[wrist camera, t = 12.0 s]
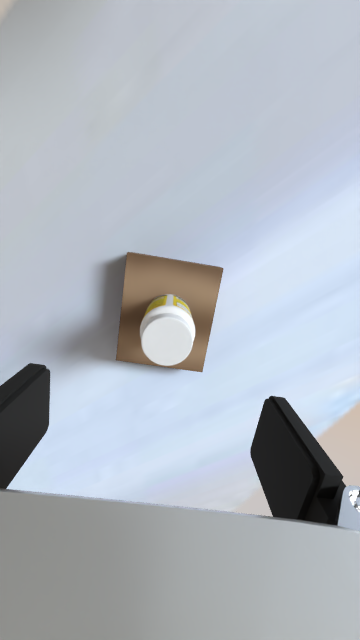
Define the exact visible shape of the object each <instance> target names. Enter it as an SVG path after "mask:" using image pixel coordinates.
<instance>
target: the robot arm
mask: <svg viewBox="0 0 360 640" xmlns="http://www.w3.org/2000/svg"><path fill="white" fill-rule="evenodd" d="M49 400H50V370H49V369H46V366H45V365H39V364H32V363H30V364H28V365H27V366H26V367H24V368H23V369H22V370H20V371H19V372H18V373H17V374H15V375H14V376H13V377H11V378H10V379H9V380H7V381H6V382H5V383H4V384H2V385H1V386H0V640H360V487H359V486H351V485H350V486H347V487H346V485H345V484H344V483H343V481H342V479H343V476H342V474H341V473H340V471H339V470H338V469H337V467H336V466H335V465H334V464H333V462H332V461H331V460H330V458H329V457H328V456H327V454H326V453H325V451H324V450H323V449H322V447H321V446H320V445H319V443H318V442H317V441H316V439H315V438H314V437H313V435H312V434H311V433H310V431H309V430H308V429H307V427H306V426H305V424H304V423H303V422H302V420H301V419H300V418H299V416H298V415H297V414H296V412H295V411H294V410H293V408H292V407H291V406H290V404H289V403H288V402H287V400H286V399H285V398H282V397H275V396H270V397H269V399H266V400H265V401H264V405H263V408H262V411H261V415H260V418H259V422H258V425H257V429H256V432H255V436H254V439H253V442H252V446H251V458H252V461H253V463H254V466H255V469H256V472H257V474H258V477H259V480H260V482H261V485H262V488H263V491H264V493H265V496H266V499H267V501H268V504H269V507H270V510H271V512H272V515H273V517H270V516H261V515H252V514H243V513H235V512H226V511H217V510H208V509H199V508H189V507H180V506H171V505H161V504H152V503H142V502H132V501H123V500H113V499H103V498H93V497H83V496H73V495H62V494H52V493H42V492H32V491H21V490H10V489H6V488H7V487H8V485H9V484H10V482H11V481H12V480H13V478H14V477H15V475H16V474H17V473H18V471H19V470H20V468H21V467H22V465H23V464H24V463H25V461H26V460H27V458H28V457H29V456H30V454H31V453H32V451H33V450H34V449H35V447H36V446H37V444H38V443H39V442H40V440H41V439H42V437H43V436H44V435H45V433H46V431H47V429H48V426H49Z"/></svg>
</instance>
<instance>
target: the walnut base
mask: <svg viewBox="0 0 360 640" xmlns="http://www.w3.org/2000/svg"><path fill="white" fill-rule="evenodd" d="M222 273H223V268H221V267H217V266H211V265H205V264H199V263H193V262H187V261H181V260H175V259H169V258H163V257H157V256H151V255H145V254H139V253H133V252H127V259H126V268H125V278H124V288H123V297H122V307H121V317H120V326H119V336H118V346H117V355H116V360H118V361H126V362H133V363H140V364H147V365H154V366H161V367H169V368H176V369H183V370H190V371H197V372H202V371H203V366H204V361H205V356H206V351H207V346H208V341H209V336H210V331H211V327H212V322H213V317H214V312H215V307H216V302H217V297H218V292H219V288H220V283H221V278H222ZM165 294H172V295H176V296H179V297H180V298H182V299H183V300H184V301H185V302H186V303H187V305H188V307H189V309H190V312H191V315H192V318H193V322H194V325H195V338H194V341H193V346H192V349H191V352H190V353H189V355H188V356H187V357H186V359H184V360H183V361H182V362H180V363H178V364H175V365H171V366H163V365H159V364H156V363H154V362H152V361H151V360H150V359H149V358H148V357H147V356H146V355H145V353H144V351H143V349H142V345H141V337H140V325H141V322H142V320H143V318H144V315H145V313H146V311H147V308H148V306H149V304H150V303H151V302H152V301H153V300H154V299H155V298H156V297H158V296H161V295H165Z"/></svg>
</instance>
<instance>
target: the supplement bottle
mask: <svg viewBox="0 0 360 640" xmlns="http://www.w3.org/2000/svg"><path fill="white" fill-rule="evenodd" d="M140 337H141V345H142V349H143V351H144V353H145V355H146V356H147V357H148V358H149V359H150V360H151V361H152V362H154V363H156V364H159V365H163V366H171V365H175V364H178V363H180V362H182V361H183V360H184V359H186V357H187V356H188V355H189V353H190V352H191V349H192V346H193V341H194V338H195V325H194V322H193V318H192V315H191V312H190V309H189V307H188V305H187V303H186V302H185V301H184V300H183V299H182V298H180V297H179V296H176V295H172V294H165V295H161V296H158V297H156V298H155V299H154V300H153V301H152V302H151V303H150V304H149V306H148V308H147V311H146V313H145V315H144V318H143V320H142V322H141V325H140Z"/></svg>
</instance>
